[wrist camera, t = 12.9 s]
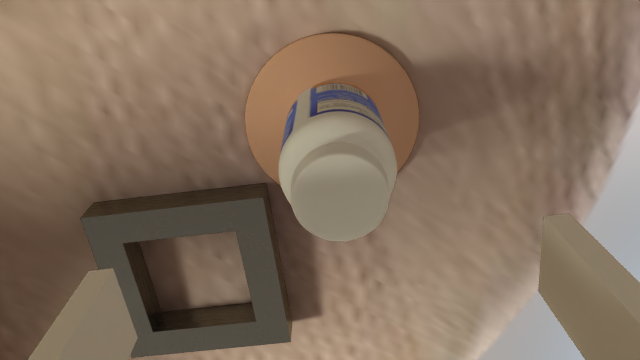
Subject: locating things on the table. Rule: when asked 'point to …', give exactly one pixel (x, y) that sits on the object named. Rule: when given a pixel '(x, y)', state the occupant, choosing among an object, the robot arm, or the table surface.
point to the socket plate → (187, 220)
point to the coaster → (319, 66)
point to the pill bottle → (337, 162)
